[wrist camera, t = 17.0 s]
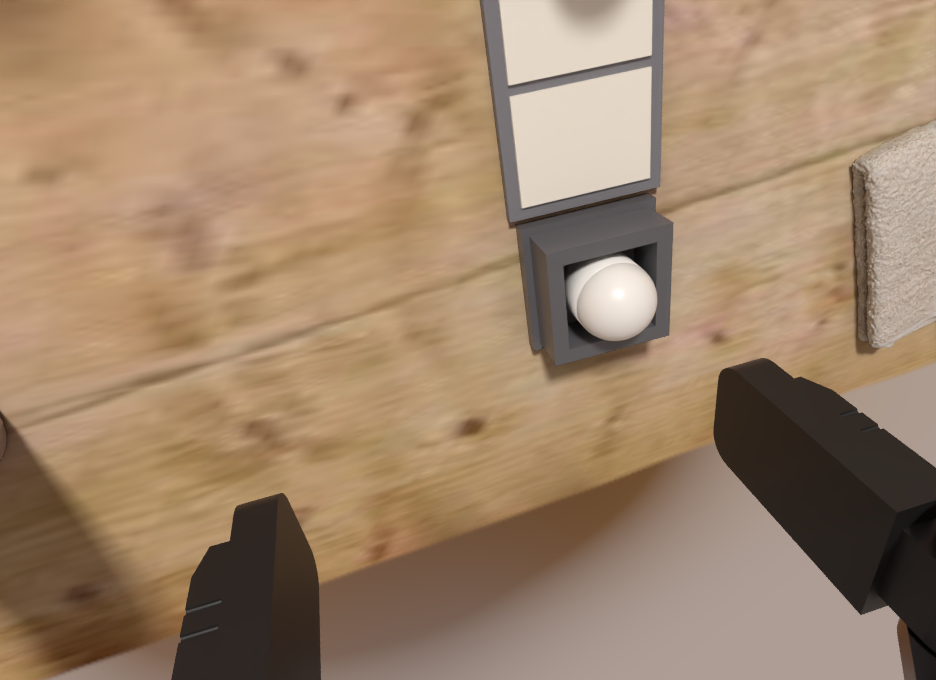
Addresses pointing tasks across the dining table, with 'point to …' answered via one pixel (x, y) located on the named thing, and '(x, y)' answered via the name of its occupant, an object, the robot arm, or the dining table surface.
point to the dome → (610, 296)
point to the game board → (575, 99)
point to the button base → (582, 239)
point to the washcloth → (896, 236)
